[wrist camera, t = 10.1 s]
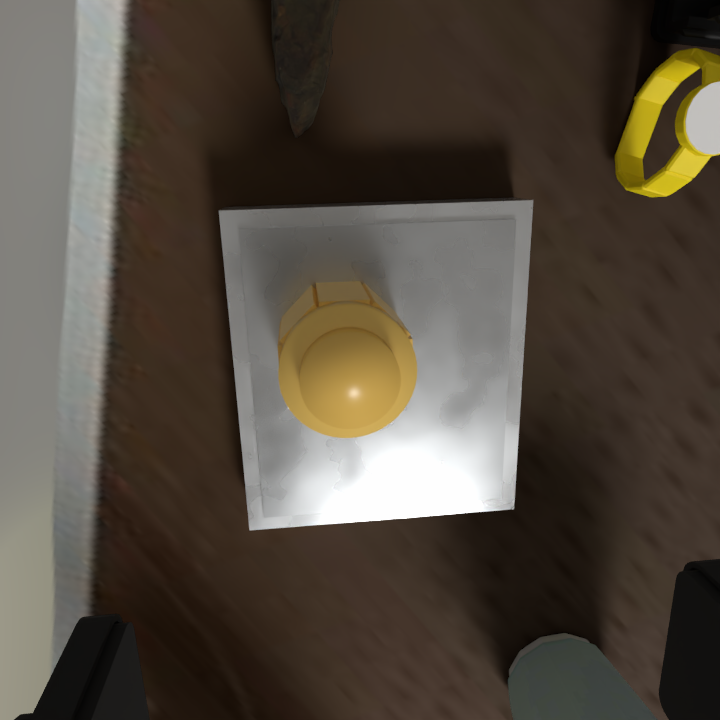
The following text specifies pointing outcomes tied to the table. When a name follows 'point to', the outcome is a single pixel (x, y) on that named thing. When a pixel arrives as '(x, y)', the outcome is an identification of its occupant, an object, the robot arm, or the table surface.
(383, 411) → the wire nut
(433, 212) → the plate
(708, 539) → the table surface
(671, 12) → the end cap
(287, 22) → the dark brown wood branch
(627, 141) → the watch
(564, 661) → the disposable coffee cup
